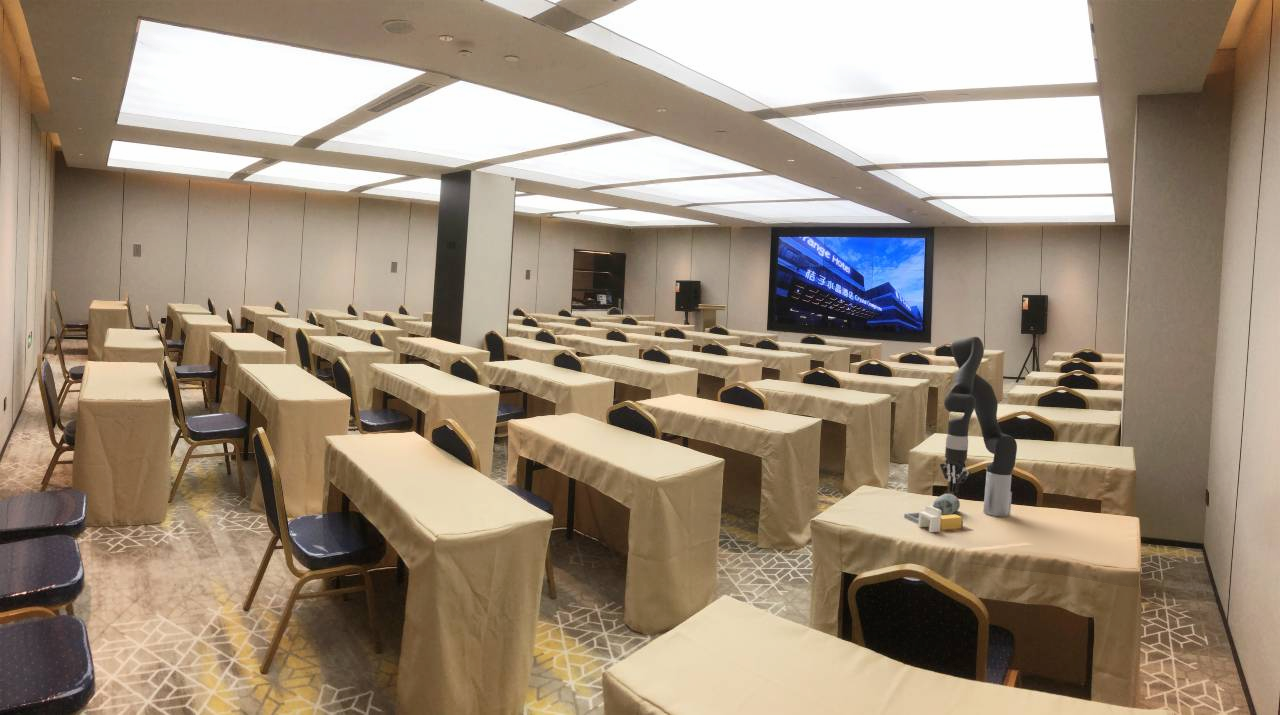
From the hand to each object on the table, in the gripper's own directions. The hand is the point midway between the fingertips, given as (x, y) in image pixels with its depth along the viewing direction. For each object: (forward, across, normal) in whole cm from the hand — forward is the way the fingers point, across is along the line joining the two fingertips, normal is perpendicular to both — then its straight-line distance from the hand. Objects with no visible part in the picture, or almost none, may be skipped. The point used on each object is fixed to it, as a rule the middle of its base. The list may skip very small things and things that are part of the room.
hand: (953, 492), depth 271 cm
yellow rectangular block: (+14, -1, 0) cm, 14 cm away
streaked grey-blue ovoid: (+15, -17, +14) cm, 26 cm away
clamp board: (+15, -1, -2) cm, 15 cm away
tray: (+15, -11, -2) cm, 19 cm away
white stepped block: (+14, -1, -9) cm, 17 cm away
